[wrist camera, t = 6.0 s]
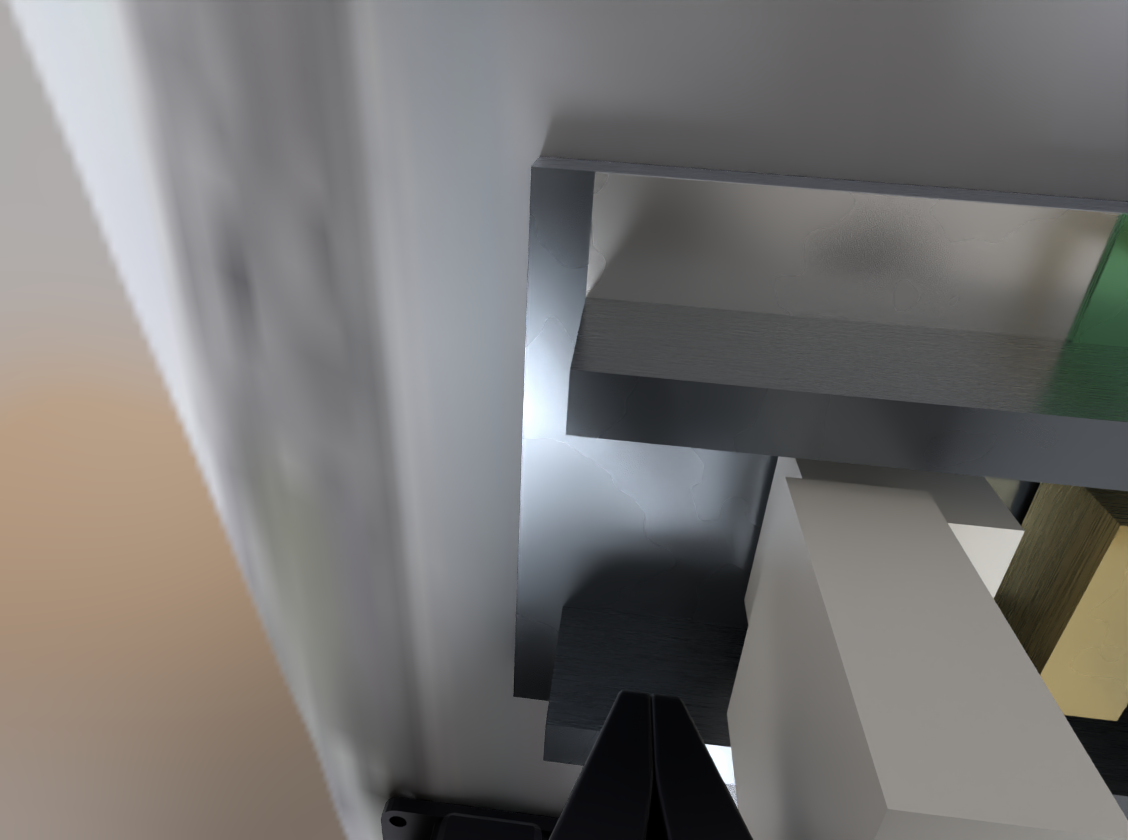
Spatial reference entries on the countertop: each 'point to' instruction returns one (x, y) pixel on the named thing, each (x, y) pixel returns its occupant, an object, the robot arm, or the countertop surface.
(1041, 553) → the tan block
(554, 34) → the countertop surface
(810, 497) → the off-white rectangular block
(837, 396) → the bench
